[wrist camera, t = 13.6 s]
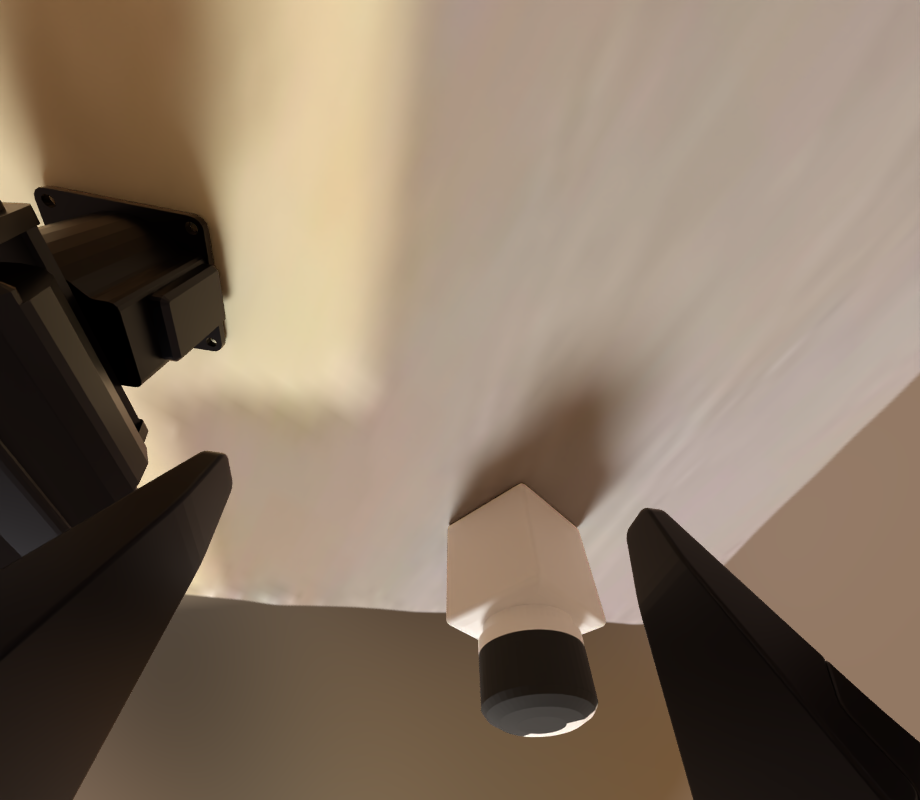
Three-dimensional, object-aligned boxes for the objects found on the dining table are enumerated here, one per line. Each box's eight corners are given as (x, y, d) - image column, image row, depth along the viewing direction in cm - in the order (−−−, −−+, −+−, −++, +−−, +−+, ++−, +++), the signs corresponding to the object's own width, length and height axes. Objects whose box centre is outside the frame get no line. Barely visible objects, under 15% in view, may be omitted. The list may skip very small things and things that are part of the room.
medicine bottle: (445, 525, 30) (441, 725, 20) (521, 479, 27) (560, 684, 17) (505, 565, 33) (527, 756, 23) (579, 527, 30) (640, 725, 20)
